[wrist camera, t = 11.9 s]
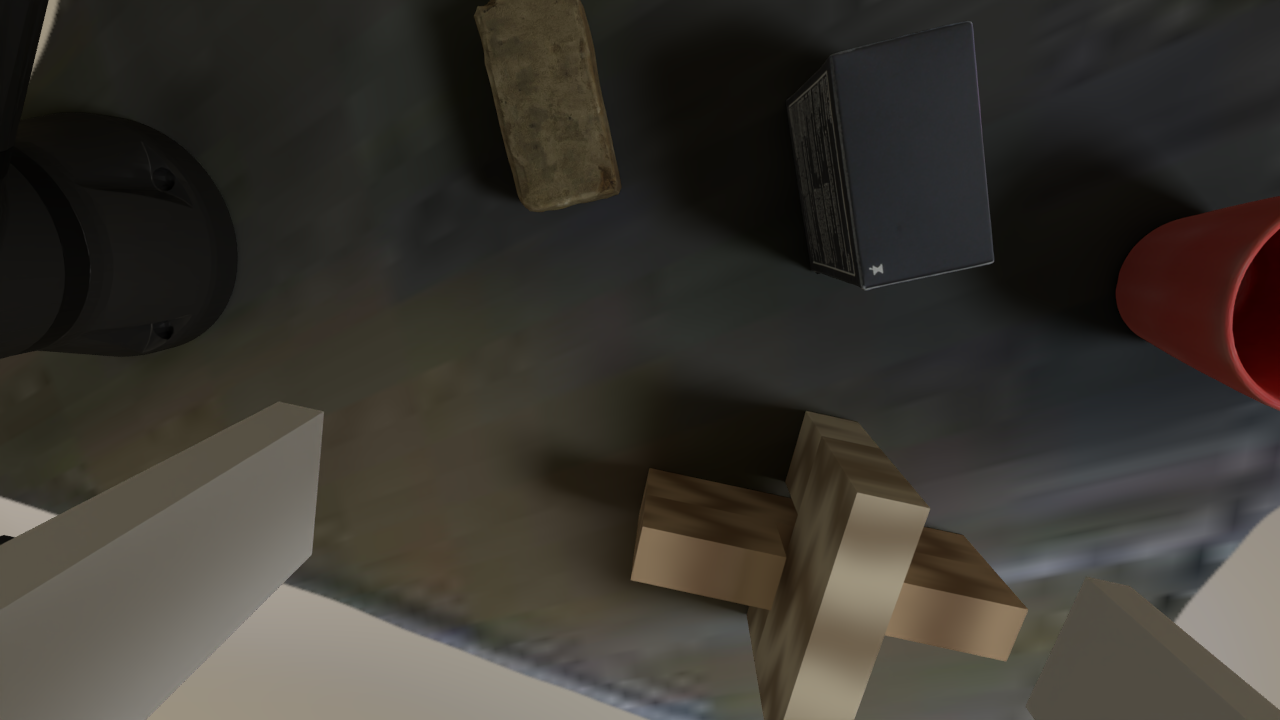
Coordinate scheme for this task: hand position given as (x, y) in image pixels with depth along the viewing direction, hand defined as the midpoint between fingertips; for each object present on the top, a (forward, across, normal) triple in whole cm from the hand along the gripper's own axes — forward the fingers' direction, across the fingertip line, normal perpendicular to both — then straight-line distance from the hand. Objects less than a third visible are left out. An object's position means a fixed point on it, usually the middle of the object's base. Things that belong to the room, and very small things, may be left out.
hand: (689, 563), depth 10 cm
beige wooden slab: (+29, +12, -13) cm, 34 cm away
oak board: (+29, +12, -13) cm, 34 cm away
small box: (+30, +9, +10) cm, 32 cm away
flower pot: (+29, +30, +8) cm, 43 cm away
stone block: (+30, -9, +10) cm, 33 cm away
